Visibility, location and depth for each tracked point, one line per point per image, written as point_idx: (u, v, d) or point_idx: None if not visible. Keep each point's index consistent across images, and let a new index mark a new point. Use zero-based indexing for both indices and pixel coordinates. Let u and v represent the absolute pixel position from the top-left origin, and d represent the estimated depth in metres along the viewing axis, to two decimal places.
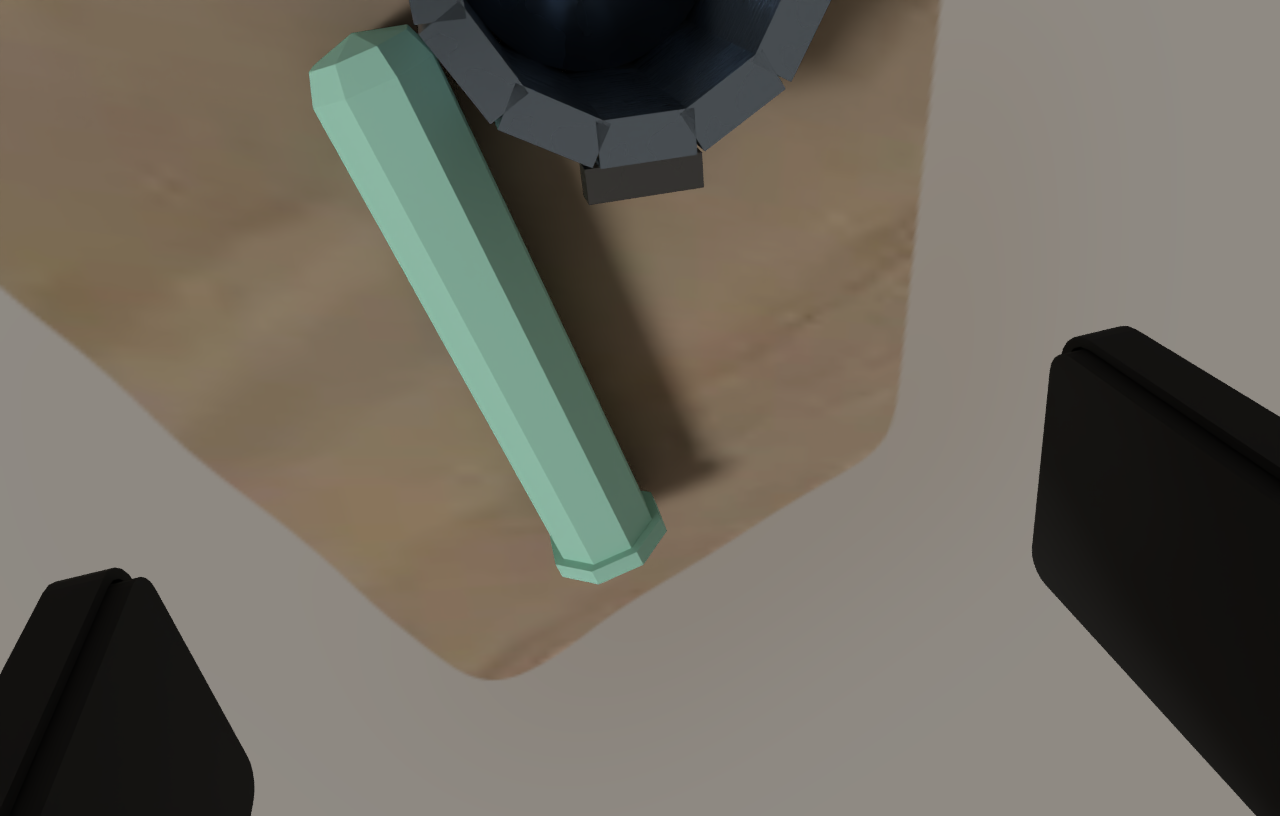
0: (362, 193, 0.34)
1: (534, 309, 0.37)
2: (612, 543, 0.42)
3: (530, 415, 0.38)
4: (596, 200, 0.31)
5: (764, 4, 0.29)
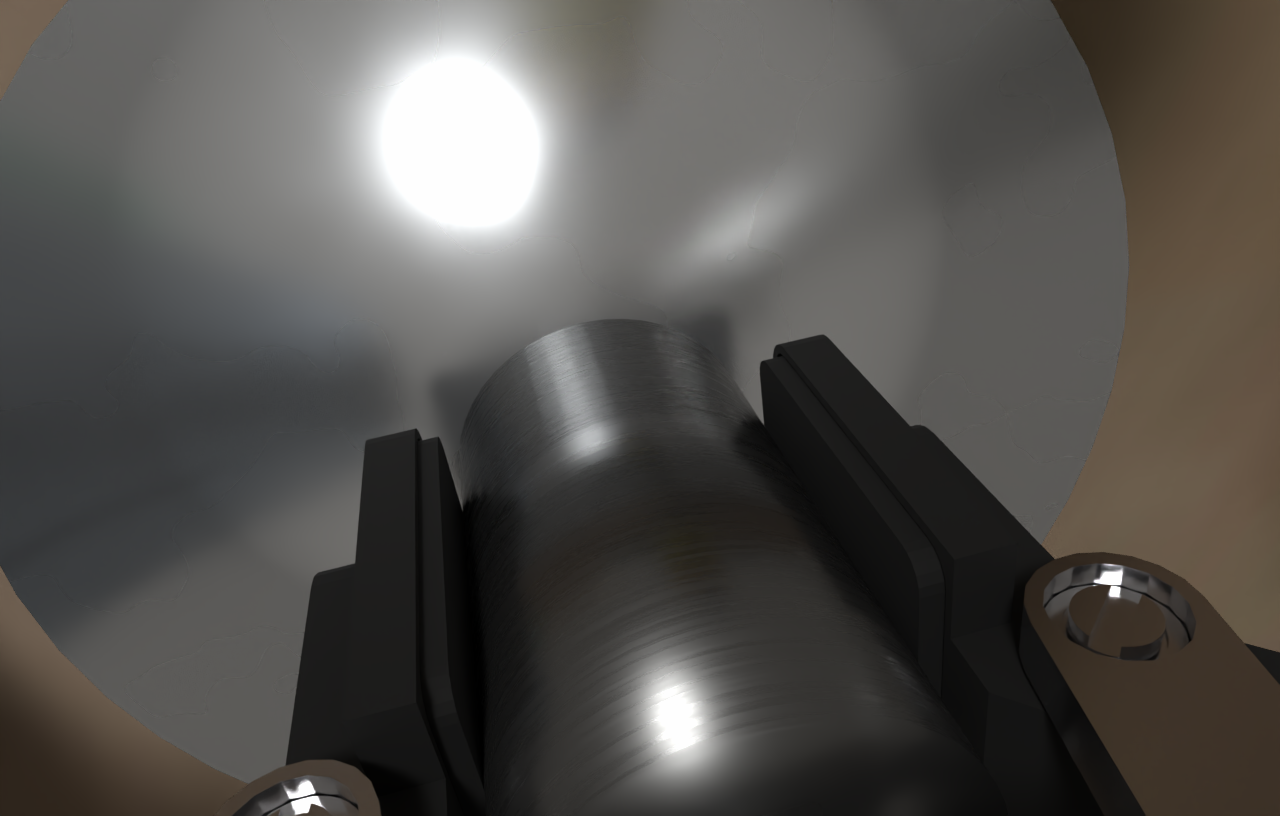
0: None
1: None
2: None
3: None
4: None
5: None
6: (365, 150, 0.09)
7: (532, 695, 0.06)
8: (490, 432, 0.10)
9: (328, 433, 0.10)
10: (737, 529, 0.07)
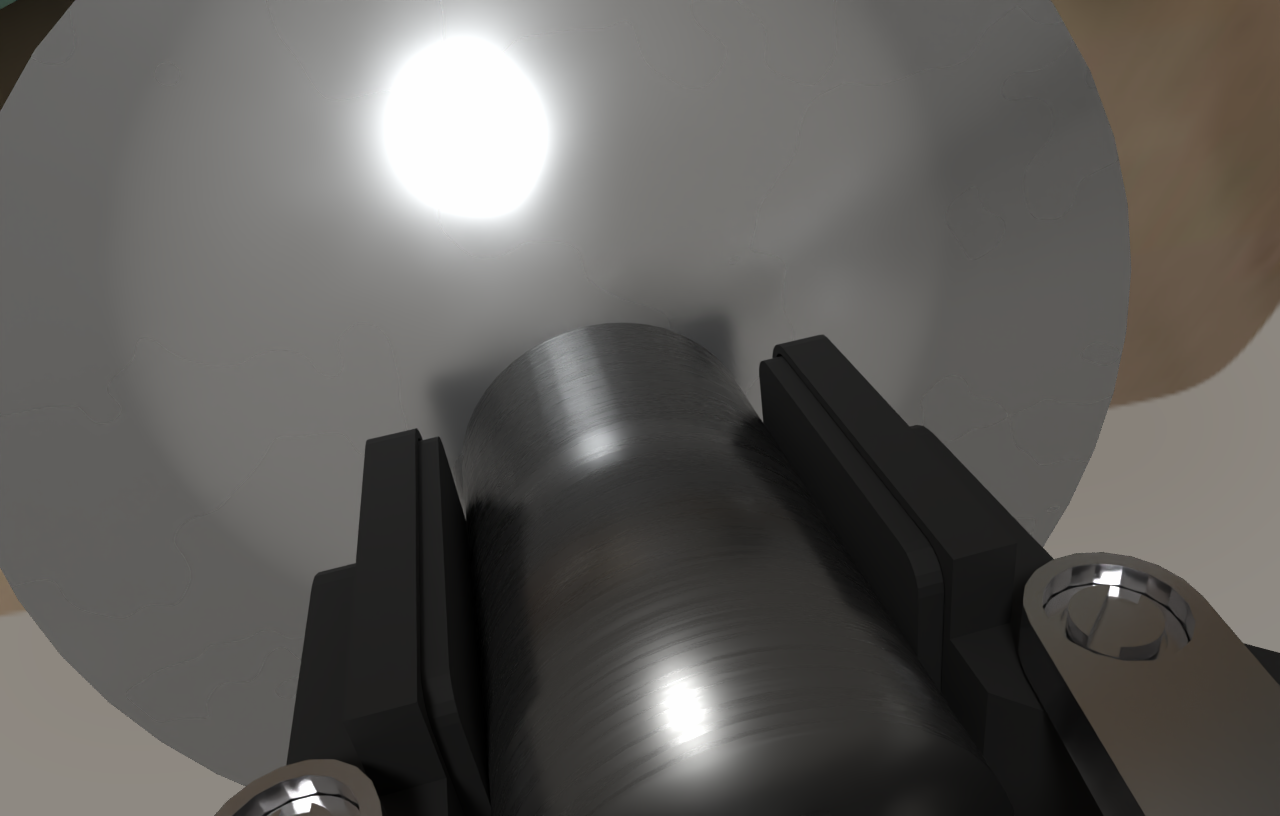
0: None
1: None
2: None
3: None
4: None
5: None
6: (368, 154, 0.09)
7: (539, 702, 0.06)
8: (494, 437, 0.10)
9: (331, 437, 0.10)
10: (743, 535, 0.07)
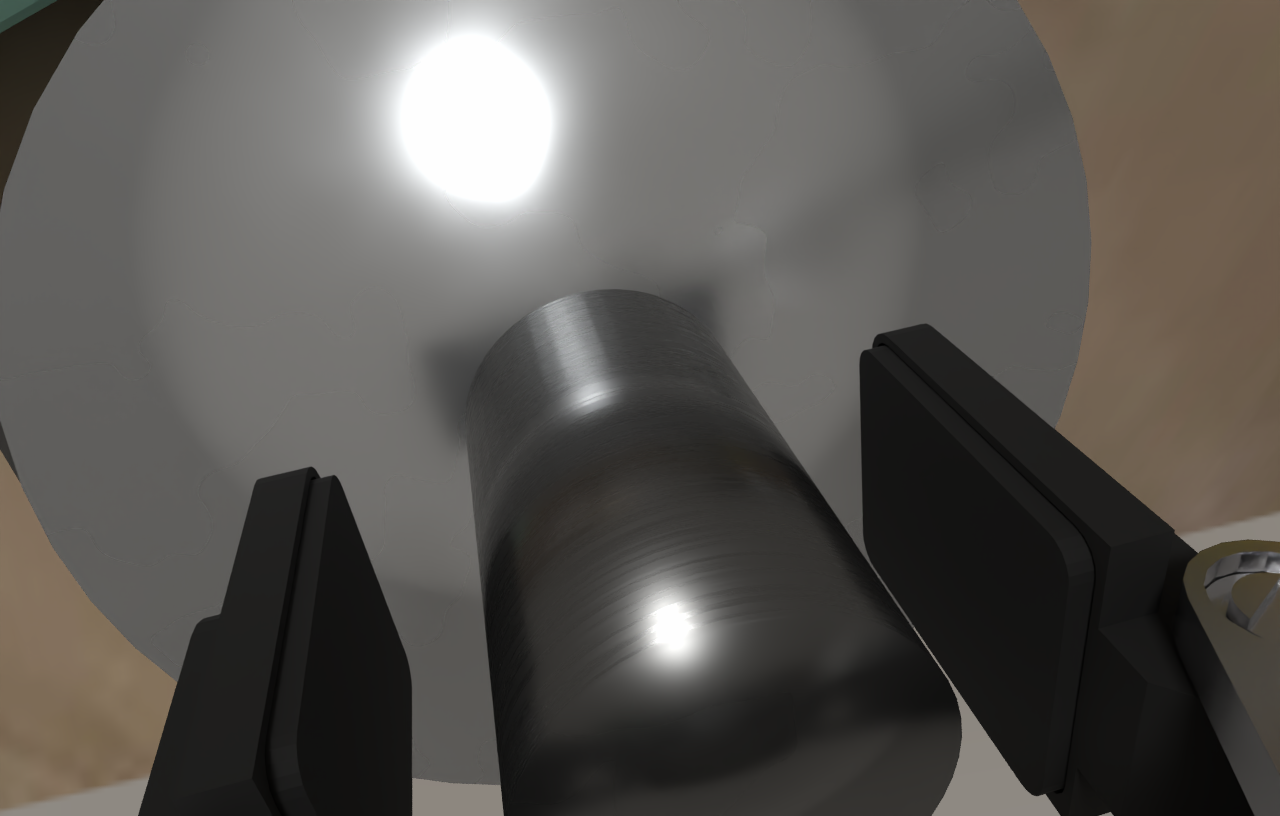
0: None
1: None
2: None
3: None
4: None
5: None
6: (380, 129, 0.10)
7: (536, 609, 0.07)
8: (495, 391, 0.10)
9: (344, 396, 0.11)
10: (720, 465, 0.08)
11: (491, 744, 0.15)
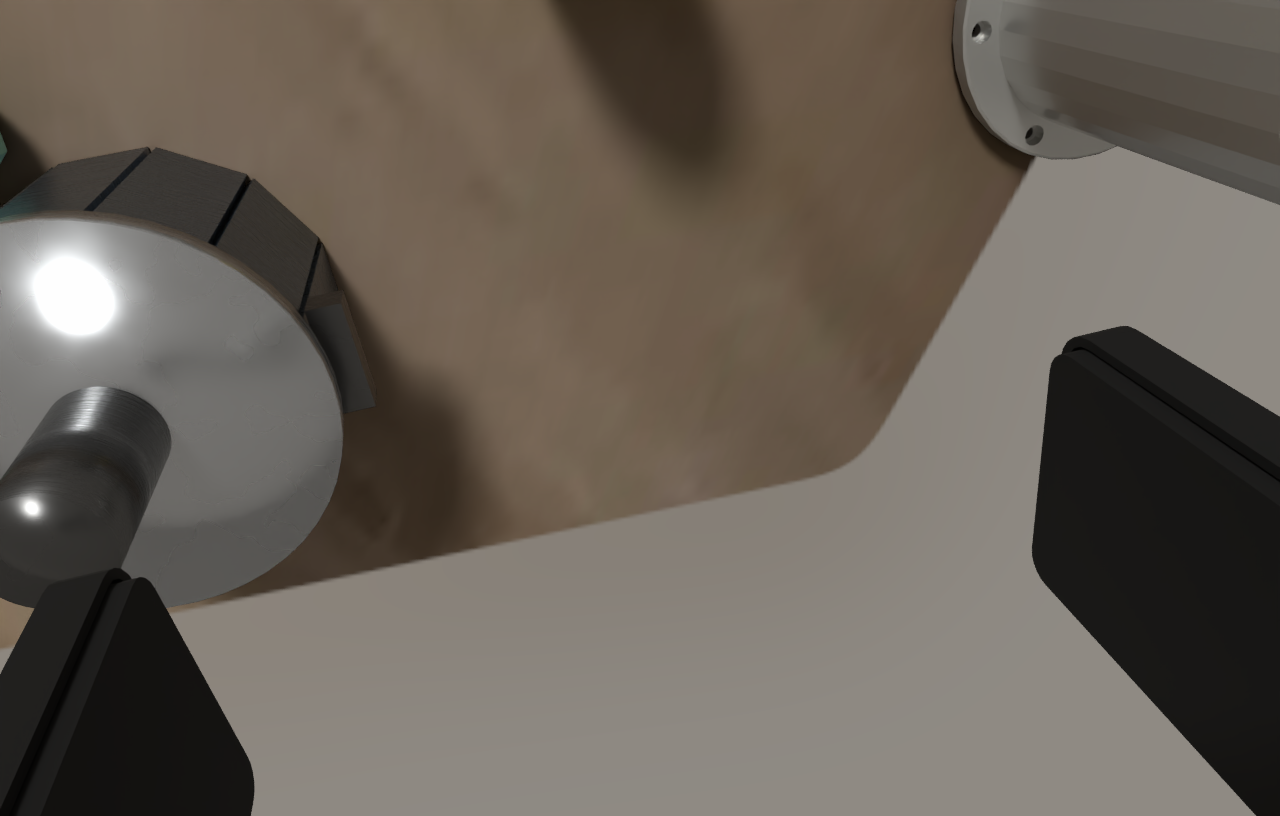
0: None
1: None
2: None
3: None
4: None
5: None
6: None
7: None
8: None
9: None
10: (60, 456, 0.25)
11: None
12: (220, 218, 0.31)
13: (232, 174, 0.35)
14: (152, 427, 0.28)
